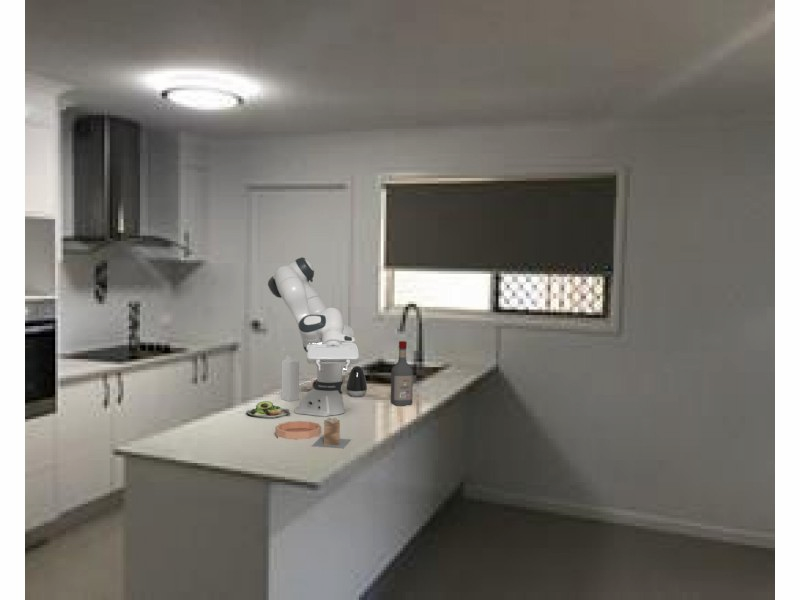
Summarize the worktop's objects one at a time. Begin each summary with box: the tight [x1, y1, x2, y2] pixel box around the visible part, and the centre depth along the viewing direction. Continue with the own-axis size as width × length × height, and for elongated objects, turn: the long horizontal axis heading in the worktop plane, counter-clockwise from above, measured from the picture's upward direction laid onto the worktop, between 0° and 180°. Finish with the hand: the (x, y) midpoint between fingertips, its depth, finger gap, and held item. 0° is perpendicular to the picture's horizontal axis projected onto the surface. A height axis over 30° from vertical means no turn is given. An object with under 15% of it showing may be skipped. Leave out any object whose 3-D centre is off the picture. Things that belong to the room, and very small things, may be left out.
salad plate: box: [245, 400, 292, 420], centre depth 289 cm, size 19×18×5 cm
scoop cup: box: [323, 417, 341, 445], centre depth 243 cm, size 6×6×9 cm
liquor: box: [390, 340, 414, 407], centre depth 314 cm, size 9×9×30 cm
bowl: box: [274, 420, 322, 440], centre depth 255 cm, size 17×17×4 cm
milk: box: [281, 353, 300, 402], centre depth 319 cm, size 6×6×22 cm
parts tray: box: [311, 437, 352, 449], centre depth 243 cm, size 12×12×1 cm
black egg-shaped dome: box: [346, 365, 368, 398], centre depth 330 cm, size 10×10×15 cm
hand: (333, 371), depth 254 cm, fingers open, 8 cm apart
